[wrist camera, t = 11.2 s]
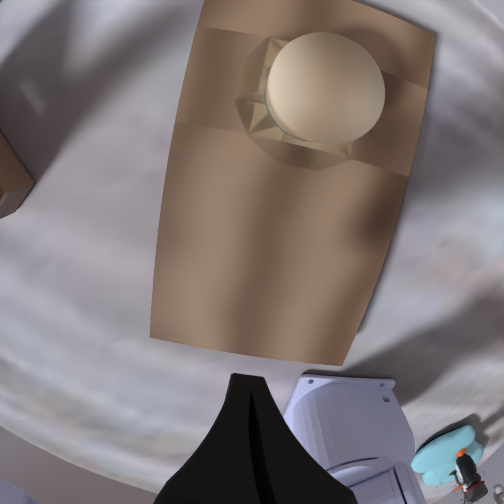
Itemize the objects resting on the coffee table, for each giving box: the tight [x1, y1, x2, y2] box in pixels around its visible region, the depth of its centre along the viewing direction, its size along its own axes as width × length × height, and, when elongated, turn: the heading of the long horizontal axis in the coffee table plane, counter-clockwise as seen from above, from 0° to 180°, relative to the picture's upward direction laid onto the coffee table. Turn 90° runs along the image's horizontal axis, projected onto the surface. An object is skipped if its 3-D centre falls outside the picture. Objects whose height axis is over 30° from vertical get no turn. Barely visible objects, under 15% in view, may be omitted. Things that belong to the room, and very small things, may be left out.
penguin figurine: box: [411, 425, 504, 504], centre depth 26 cm, size 20×11×15 cm, turn 38°
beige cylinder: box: [264, 32, 385, 144], centre depth 15 cm, size 5×5×6 cm
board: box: [150, 0, 435, 366], centre depth 19 cm, size 14×24×2 cm, turn 168°
